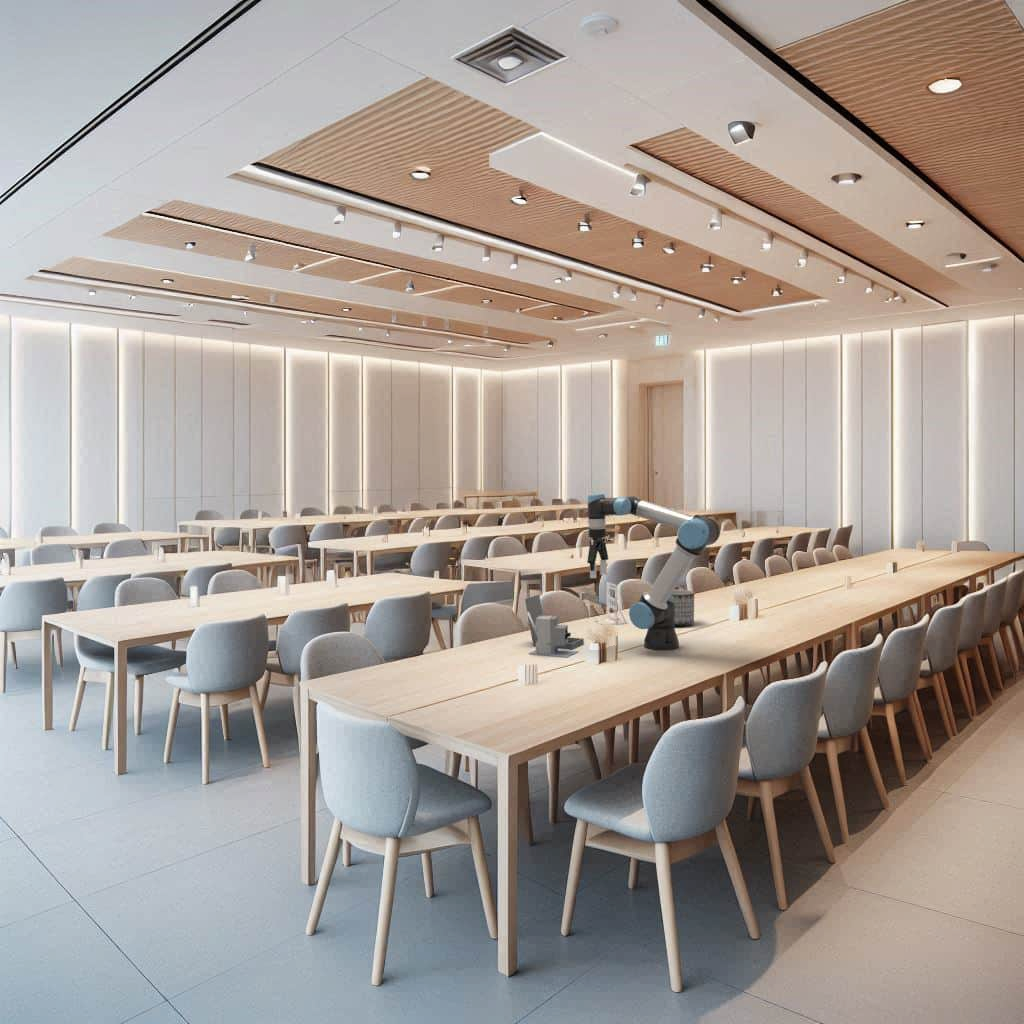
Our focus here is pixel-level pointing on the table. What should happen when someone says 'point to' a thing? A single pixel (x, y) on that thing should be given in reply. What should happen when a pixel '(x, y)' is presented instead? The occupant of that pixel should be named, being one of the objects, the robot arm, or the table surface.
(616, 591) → the film strip holder
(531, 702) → the table surface
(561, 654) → the mat
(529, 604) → the case
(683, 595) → the planter
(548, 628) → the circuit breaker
